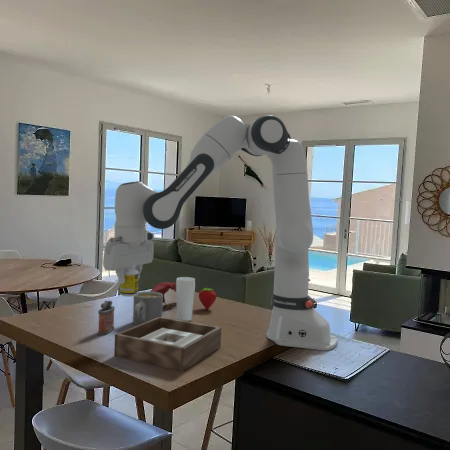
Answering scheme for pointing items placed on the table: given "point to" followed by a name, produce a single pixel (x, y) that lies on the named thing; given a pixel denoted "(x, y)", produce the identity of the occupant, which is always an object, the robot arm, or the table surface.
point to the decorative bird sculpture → (164, 288)
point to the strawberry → (207, 297)
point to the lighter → (106, 318)
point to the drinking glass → (185, 297)
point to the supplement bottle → (130, 282)
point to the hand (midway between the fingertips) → (129, 281)
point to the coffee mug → (147, 307)
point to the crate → (168, 343)
